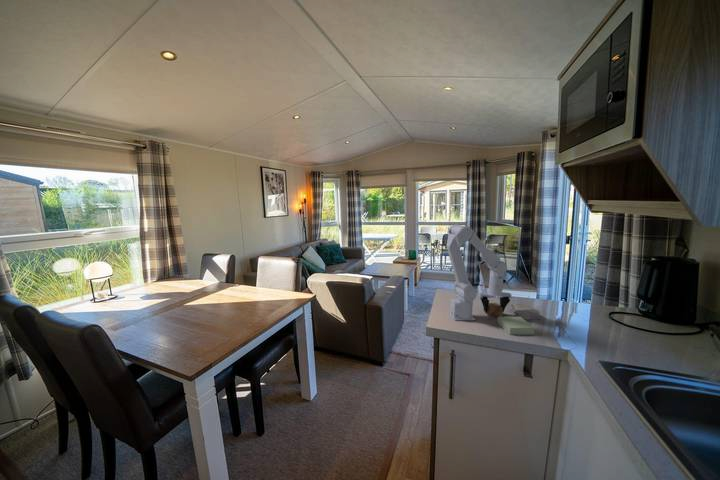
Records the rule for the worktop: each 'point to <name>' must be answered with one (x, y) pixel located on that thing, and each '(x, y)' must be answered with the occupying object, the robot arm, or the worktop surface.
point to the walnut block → (494, 310)
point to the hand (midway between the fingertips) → (493, 311)
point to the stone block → (525, 311)
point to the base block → (516, 326)
